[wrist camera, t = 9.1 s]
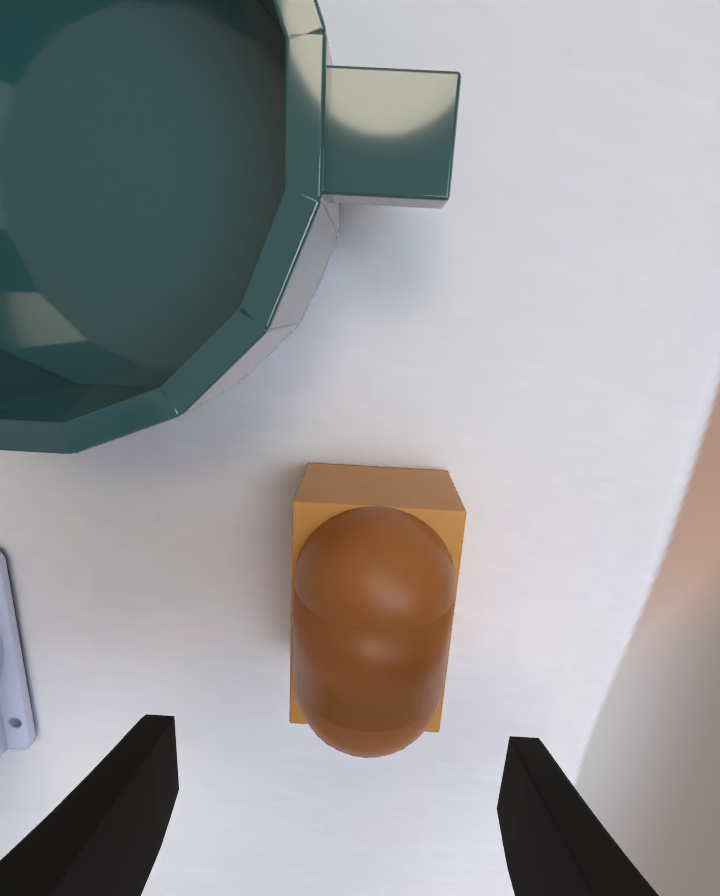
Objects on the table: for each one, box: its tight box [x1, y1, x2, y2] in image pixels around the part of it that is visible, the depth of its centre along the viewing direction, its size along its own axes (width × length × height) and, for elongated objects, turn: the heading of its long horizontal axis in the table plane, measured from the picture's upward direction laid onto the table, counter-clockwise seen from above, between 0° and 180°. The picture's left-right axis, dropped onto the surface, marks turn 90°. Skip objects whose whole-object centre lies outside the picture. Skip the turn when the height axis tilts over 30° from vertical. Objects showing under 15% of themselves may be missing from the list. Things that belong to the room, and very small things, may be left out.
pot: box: [0, 0, 461, 454], centre depth 12 cm, size 15×20×6 cm
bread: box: [290, 463, 466, 758], centre depth 16 cm, size 8×5×6 cm, turn 177°
